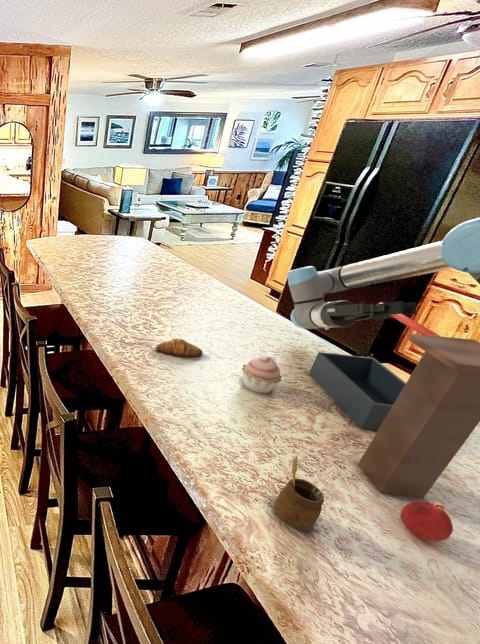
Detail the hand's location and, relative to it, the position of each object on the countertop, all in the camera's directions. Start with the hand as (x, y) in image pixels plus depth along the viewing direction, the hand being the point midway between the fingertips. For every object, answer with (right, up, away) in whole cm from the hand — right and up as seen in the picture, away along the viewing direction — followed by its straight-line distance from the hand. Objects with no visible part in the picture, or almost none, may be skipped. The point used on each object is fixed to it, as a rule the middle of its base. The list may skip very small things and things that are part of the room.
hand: (408, 307), depth 88 cm
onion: (-22, -40, -21) cm, 50 cm away
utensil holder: (-41, -38, -19) cm, 59 cm away
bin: (-1, -24, +11) cm, 27 cm away
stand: (-16, -34, -11) cm, 40 cm away
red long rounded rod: (0, -4, 0) cm, 4 cm away
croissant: (-39, -14, +30) cm, 51 cm away
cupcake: (-25, -22, +16) cm, 36 cm away
